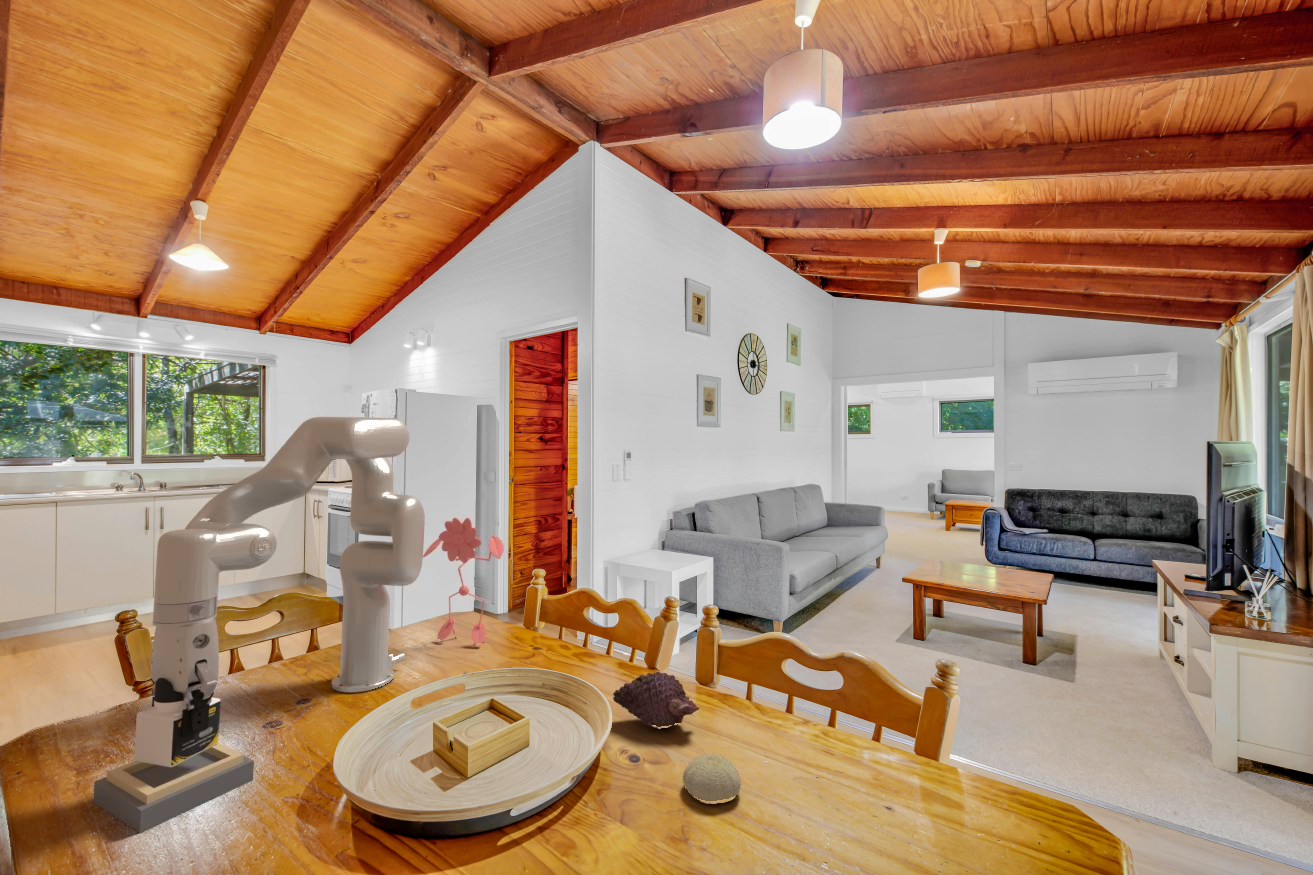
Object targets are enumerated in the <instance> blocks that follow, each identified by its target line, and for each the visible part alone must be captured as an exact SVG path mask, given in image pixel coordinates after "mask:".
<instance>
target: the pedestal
mask: <svg viewBox="0 0 1313 875" xmlns="http://www.w3.org/2000/svg"><path fill="white" fill-rule="evenodd" d="M254 764H255V760H253V759H252V758H249V757H247V756H245V755H244V753H242V752H239V751H238V750H235V749H233V748H231V747H228V746H226V745H224V744H222V743H220V742H218V744H217V745H215V746H213V747H211V748H209V749H207V750H205V751H203V752H201V753H199V754H197V755H195V756H193V757H191V758H189V759H187V760H185V761H183V762H182V763H180V764H178V765H176V766H174V767H166V766H160V765H154V764H148V763H143V762H137V761H132V762H129V763H126V764H124V765H121V766H119V767H116V768H113V769H110V770H108V771H106V776H105V777H103V778H100V779H98V780H95V781H94V782H93V796H92V797H93V799H92V800H93V801H92V803H93V804H95V805H96V806H97V807H99V808H100V809H103V810H104V811H106V813H108V814H110V815H111V816H113V817H114V816H115V817H114V818H116V819H117V818H118V819H117V820H119V819H120V820H121V821H120V820H119V821H120V822H122V823H124V824H125V823H126V824H125V825H127V826H128V825H129V826H128V827H130V828H131V829H133V830H134V831H136V832H137V833H139V834H141V833H143V832H145V831H147V830H150V829H152V828H154V827H156V826H158V825H160V824H162V823H165V822H166V821H169V820H171V819H173V818H175V817H178V816H179V814H180V815H182V814H184V813H186V812H187V811H188V812H189V811H190V810H192V809H194V808H196V807H199V806H200V805H202V804H205V803H207V802H209V801H212V800H214V799H215V798H218V797H220V796H222V795H223V794H226V793H228V792H231V791H233V790H235V789H237V788H240V787H241V786H243V785H245V784H247V783H249V782H251V781H253V780H254V769H255V767H254ZM181 813H182V814H181ZM177 815H178V816H177ZM170 818H171V819H170Z"/></svg>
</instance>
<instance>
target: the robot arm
mask: <svg viewBox="0 0 1313 875" xmlns="http://www.w3.org/2000/svg"><path fill="white" fill-rule="evenodd" d="M409 442H410V431H409V429H408V427H407V425H406V424H405V423H404V422H403V421H402V420H400V419H398V418H394V417H366V416H365V417H363V416H362V417H358V416H357V417H353V416H316V417H311V418H308V419H307V420H305V421H303V422H302V423H301V424H300V425H299V426H298V427H297V428H296V430H295V431H294V432H293V433H292V434H291V436H290V437H289V438H288V439H287V440H286V441H285V442H284V444H283V445H282V446H281V448H280V449H278V450H277V452H276V453H275V454H274V456H272V458H271V459H270V460H269V461H268V463H266V465H265V466H264V467H263V468H261V469H260V470H258V471H256V472H254V473H252V474H250V475H248V476H247V477H244V478H243V479H241V480H239V481H238V482H236V483H234V484H233V485H231V486H229V487H227V488H225V489H223V491H221V492H219V493H218V494H216V495H215V496H214V497H213V498H211V499H210V500H209V501H207V503H205V505H203V507H202V508H201V509H200V510H199V511H198V512H197V513H196V515H195V516H194V517H193V518H191V520H190V521H189V522H188V524H187V525H186V527H185V528H184V529H183V528H182V529H175V530H174V529H173V530H170V531H167V532H164V533H162V535H161V536H160V537H159V539H158V541H157V547H156V549H157V550H156V564H155V565H156V567H155V580H154V598H153V600H154V602H153V614H152V626H153V627H155V630H154V636H153V643H152V650H151V652H152V653H151V662H150V675H151V679H150V681H151V682H152V685H153V686H152V688H151V695H152V701H151V707H153V706H154V696H155V682H156V681H157V680H158V679H159V678H164V679H166V680H168V681H169V682H170V683H171V684H172V685H173V689H174V690H175V691H177V692H181V693H182V694H183V698H184V702H185V706H186V709H183V710H182V728H181V736H182V737H188V736H191V735H193V734H196V733H199V732H201V731H204V730H206V729H207V728H208V724H209V706H210V703H211V701H212V699H211V698H213V697H214V694H215V689H216V687H217V685H218V682H217V681H218V680H219V674H220V671H219V670H220V669H219V668H220V666H219V664H220V654H219V653H220V650H219V649H220V646H219V633H218V626H217V625H218V624H217V620H216V618H217V617H218V616H217V615H218V612H217V611H218V599H219V598H218V597H219V595H218V594H219V593H218V592H219V578H220V573H221V572H229V571H241V570H242V571H243V570H250V569H255V568H257V567H261V566H262V565H263V564H266V563H267V562H268V561H269V560H270V559H272V557H273V556H274V554H275V553H276V552H275V551H276V549H277V543H278V542H277V538H276V535H275V534H274V533H273V532H272V531H271V530H270V529H269V528H268V527H266V526H264V525H260V524H256V523H255V524H254V523H244V522H245V521H247V519H249V518H251V517H252V516H254V515H256V514H258V513H260V512H262V511H265V510H267V509H271V508H275V507H276V506H280V505H283V504H286V503H289V502H290V503H291V502H292V501H295V500H298V499H300V498H303V497H304V496H306V495H307V494H308V493H310V491H311V490H312V488H313V487H314V486H315V485H316V483H317V481H318V480H319V479H320V477H321V476H322V475H323V473H324V472H325V471H326V469H327V468H328V466H330V465H331V463H332V462H333V461H334V460H345V461H346V462H347V465H348V466H349V470H350V472H351V499H350V518H349V519H350V520H349V522H350V526H351V529H352V530H353V531H354V532H355V533H358V534H360V535H365V536H375V537H376V536H377V537H391V538H392V539H391V540H392V541H383V540H381V541H379V540H361V541H357V542H354V543H351V544H350V545H348V546H346V548H345V549H344V550H343V552H342V554H341V555H340V558H339V559H340V560H339V573H340V577H341V578H340V579H341V585H342V595H343V596H342V597H343V599H342V600H343V602H342V603H343V604H342V619H341V620H342V623H341V644H340V645H341V646H340V647H341V649H340V666H339V668H340V672H339V674H337V675H335V676H334V677H333V678H332V680H331V688H332V689H333V690H335V691H337V692H340V693H361V692H368V691H372V689H373V690H376V689H379V688H381V686H382V687H385V686H386V685H388V684H390V683H391V682H392V681H393V680H394V679H395V670H394V669H392V667H394V666H395V664H398V663H399V664H400V663H401V662H404V661H405V660H406V654H405V653H404V652H401V653H397V654H395V655H394V654H392V653H389V641H390V638H389V636H390V635H389V634H390V617H391V616H390V612H391V599H390V595H389V593H388V590H387V588H386V586H392V587H395V586H396V587H405V586H410V585H411V584H414V582H416V581H417V579H418V578H419V576H420V574H421V571H422V567H423V560H424V558H423V556H424V543H425V541H424V540H425V525H426V524H425V519H426V518H425V517H426V516H425V510H424V506H423V505H422V503H421V501H420V500H419V499H418V498H416V497H415V496H412V495H408V494H396V493H395V492H394V470H393V467H392V465H391V463H390V461H389V459H388V458H394V457H398V456H400V455H401V454H402V453H404V452H405V450H406V449H407V448H408V446H409ZM393 678H394V679H393ZM392 679H393V680H392ZM391 680H392V681H391ZM196 681H200V684H197V685H194V686H190V687H188V684H189V683H192V682H196ZM390 681H391V682H390ZM389 682H390V683H389ZM387 683H388V684H387ZM385 684H386V685H385ZM378 687H379V688H378ZM375 688H376V689H375ZM196 690H201V691H200V692H198V693H197V694H196V695H195V697H194V698H192V694H191V692H193V691H196Z"/></svg>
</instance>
